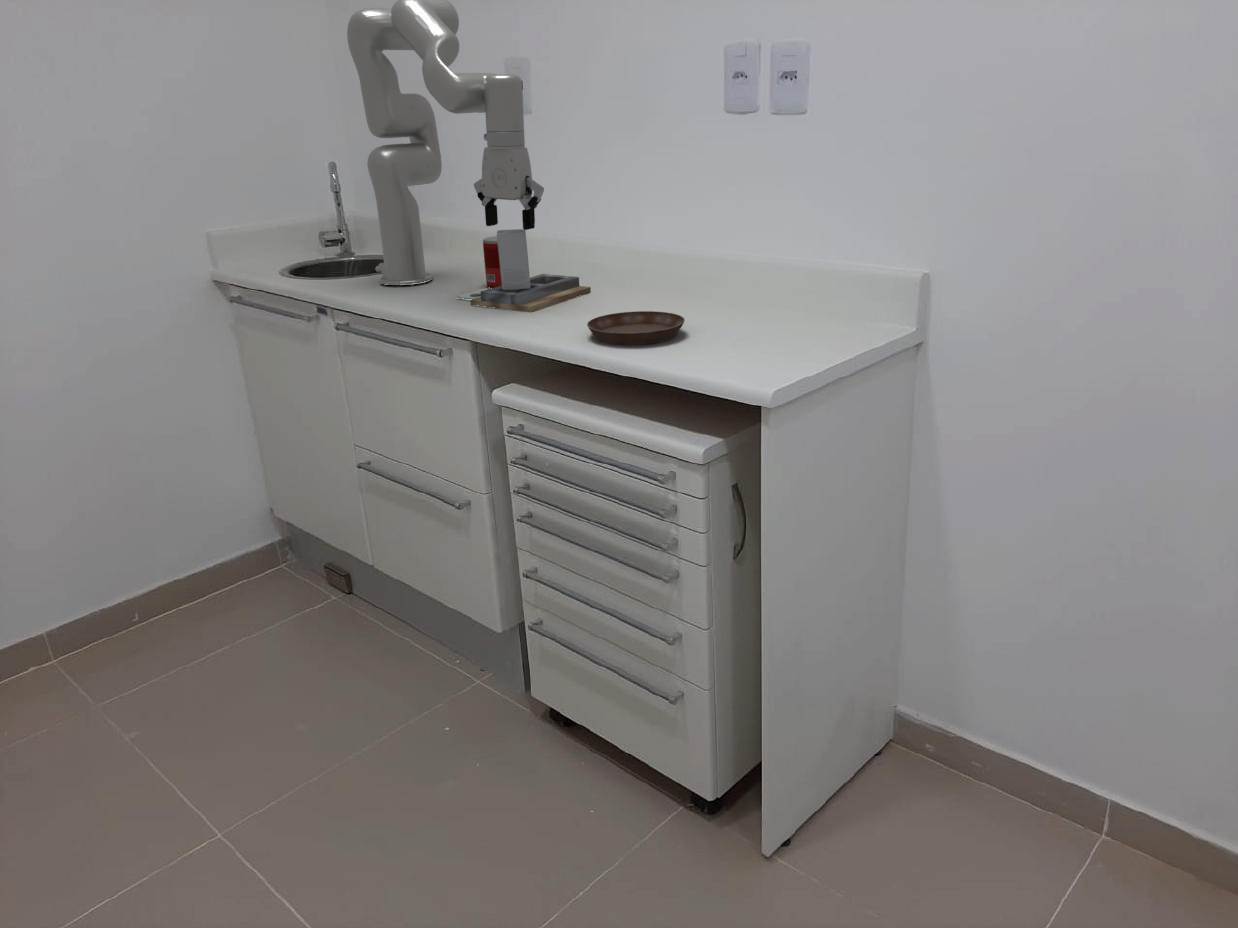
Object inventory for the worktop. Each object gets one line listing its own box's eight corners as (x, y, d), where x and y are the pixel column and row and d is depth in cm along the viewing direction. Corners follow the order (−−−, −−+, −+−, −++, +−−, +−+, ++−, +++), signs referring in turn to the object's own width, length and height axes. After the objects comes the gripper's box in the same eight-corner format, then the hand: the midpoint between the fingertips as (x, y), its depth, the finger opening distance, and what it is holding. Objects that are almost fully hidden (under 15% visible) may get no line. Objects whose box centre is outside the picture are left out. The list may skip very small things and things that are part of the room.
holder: (470, 305, 205) (469, 290, 204) (533, 287, 222) (532, 273, 221) (530, 312, 197) (529, 296, 196) (590, 292, 214) (590, 278, 213)
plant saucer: (567, 340, 175) (566, 324, 174) (630, 321, 187) (629, 306, 186) (642, 354, 164) (642, 336, 163) (704, 333, 176) (704, 317, 175)
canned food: (519, 289, 221) (515, 240, 217) (484, 290, 221) (480, 241, 217) (522, 283, 228) (519, 235, 224) (489, 283, 228) (485, 236, 224)
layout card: (456, 299, 212) (456, 295, 212) (485, 290, 220) (485, 287, 220) (481, 301, 209) (480, 298, 208) (509, 293, 216) (509, 289, 216)
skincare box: (530, 285, 207) (526, 228, 202) (530, 289, 203) (526, 231, 198) (501, 287, 206) (497, 229, 202) (501, 291, 202) (496, 232, 198)
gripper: (460, 140, 195) (466, 226, 202) (529, 143, 187) (532, 233, 193) (484, 138, 201) (489, 221, 208) (551, 140, 193) (554, 228, 199)
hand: (510, 227), depth 201 cm, fingers open, 9 cm apart
